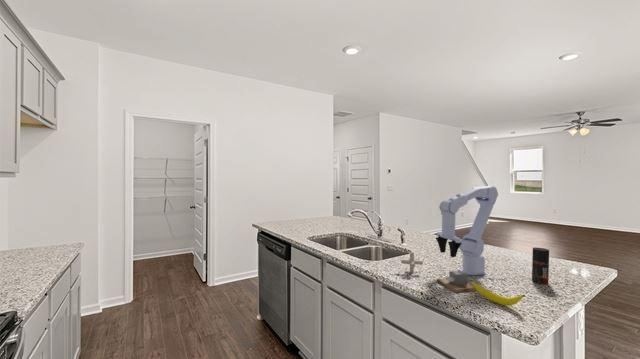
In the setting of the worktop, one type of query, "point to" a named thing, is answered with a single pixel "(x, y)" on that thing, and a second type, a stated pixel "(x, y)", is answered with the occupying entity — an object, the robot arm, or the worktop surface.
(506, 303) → the banana
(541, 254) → the deodorant
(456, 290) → the board
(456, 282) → the plug
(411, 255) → the pipe connector
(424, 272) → the worktop surface
